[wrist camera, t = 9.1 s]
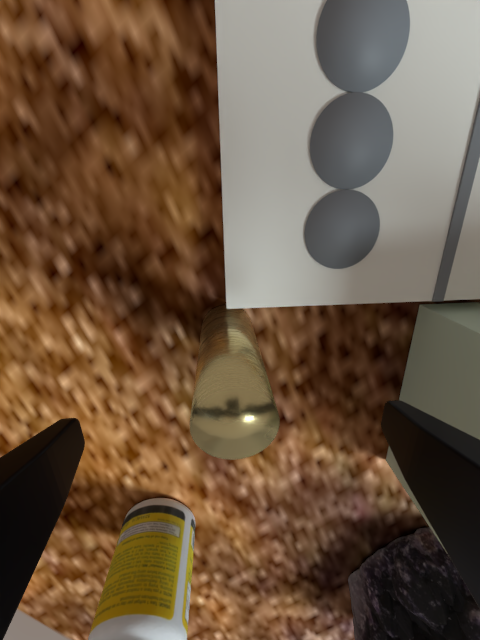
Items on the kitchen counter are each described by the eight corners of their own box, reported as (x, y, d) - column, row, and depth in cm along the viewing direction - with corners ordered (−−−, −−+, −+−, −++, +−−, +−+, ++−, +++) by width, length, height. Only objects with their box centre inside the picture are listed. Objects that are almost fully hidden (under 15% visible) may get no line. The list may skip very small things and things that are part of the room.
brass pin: (251, 303, 14) (280, 384, 8) (252, 349, 15) (278, 455, 9) (199, 306, 14) (184, 392, 8) (203, 352, 15) (194, 463, 9)
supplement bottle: (110, 513, 19) (34, 723, 11) (170, 484, 19) (134, 687, 11) (152, 551, 21) (111, 757, 13) (209, 526, 20) (201, 727, 12)
